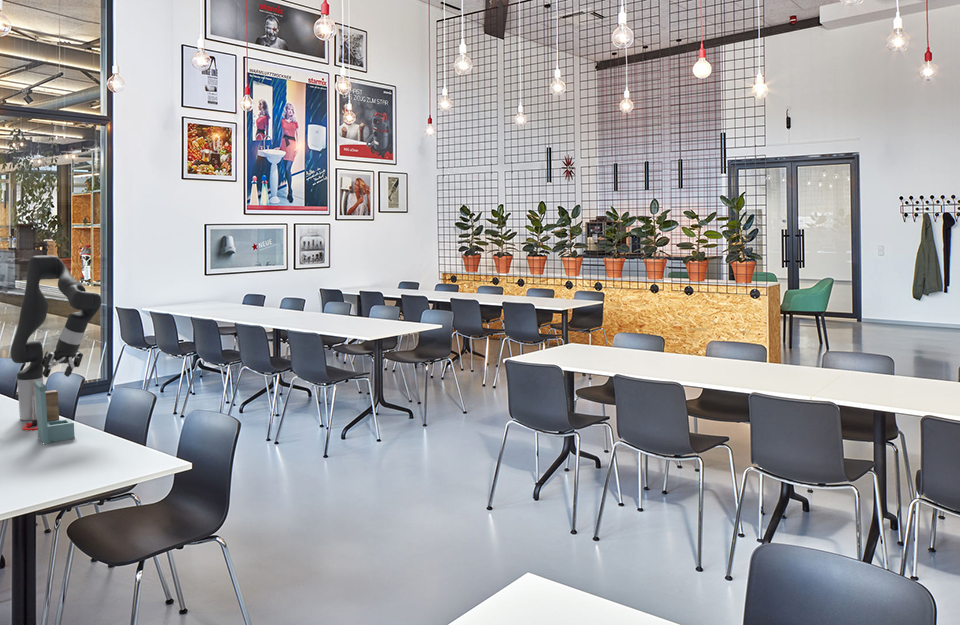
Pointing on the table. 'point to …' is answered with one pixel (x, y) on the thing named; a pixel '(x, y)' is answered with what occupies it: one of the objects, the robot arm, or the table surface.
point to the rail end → (52, 405)
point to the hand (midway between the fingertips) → (55, 376)
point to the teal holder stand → (52, 428)
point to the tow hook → (34, 420)
